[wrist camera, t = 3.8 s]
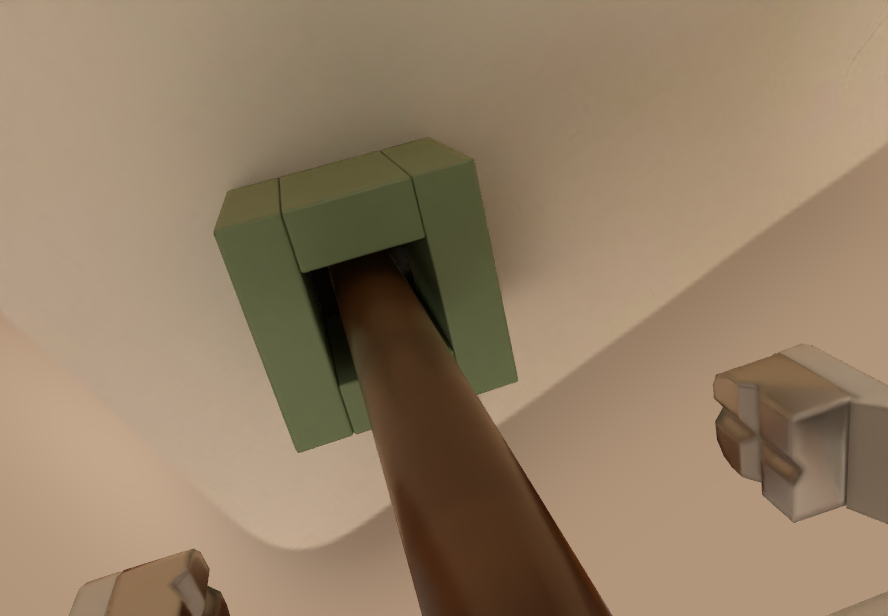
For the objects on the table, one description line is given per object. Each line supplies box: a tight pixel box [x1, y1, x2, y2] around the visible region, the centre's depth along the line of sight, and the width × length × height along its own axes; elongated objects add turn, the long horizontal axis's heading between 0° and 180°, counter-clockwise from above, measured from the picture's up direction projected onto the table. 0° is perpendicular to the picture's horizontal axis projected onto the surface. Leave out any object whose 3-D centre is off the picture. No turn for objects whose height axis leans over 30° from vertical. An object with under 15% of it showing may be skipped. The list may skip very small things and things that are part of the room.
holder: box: [214, 138, 518, 453], centre depth 19 cm, size 6×6×5 cm
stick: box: [327, 249, 612, 616], centre depth 13 cm, size 2×2×18 cm
